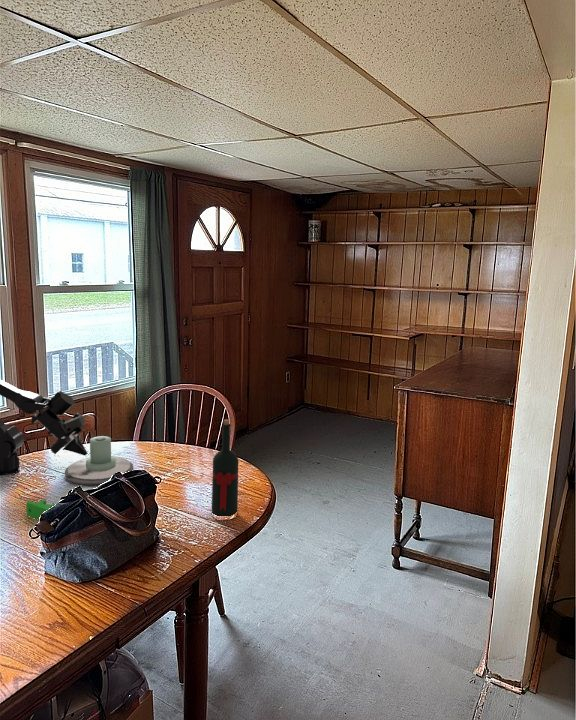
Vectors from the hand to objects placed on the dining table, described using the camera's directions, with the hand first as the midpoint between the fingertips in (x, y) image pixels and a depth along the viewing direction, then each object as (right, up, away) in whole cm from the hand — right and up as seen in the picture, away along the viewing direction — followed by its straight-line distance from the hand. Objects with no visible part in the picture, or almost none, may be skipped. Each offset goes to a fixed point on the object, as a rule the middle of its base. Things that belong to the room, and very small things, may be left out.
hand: (86, 454), depth 182 cm
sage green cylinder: (+5, -4, +1) cm, 7 cm away
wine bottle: (+52, -14, -27) cm, 61 cm away
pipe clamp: (+1, -13, -33) cm, 35 cm away
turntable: (+4, -7, +1) cm, 8 cm away
